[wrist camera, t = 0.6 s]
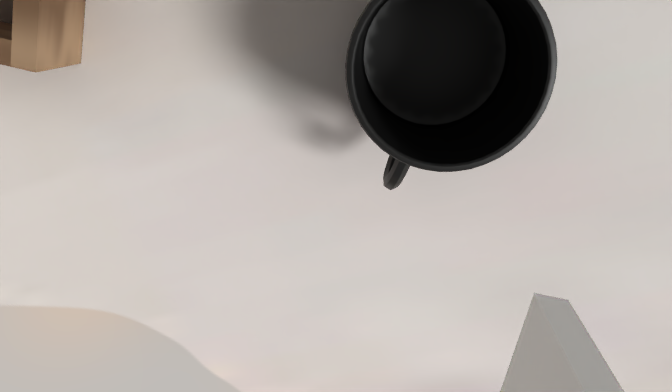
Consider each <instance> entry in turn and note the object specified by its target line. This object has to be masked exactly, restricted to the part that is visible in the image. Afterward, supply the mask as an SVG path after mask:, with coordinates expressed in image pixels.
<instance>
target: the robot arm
mask: <svg viewBox="0 0 672 392" xmlns="http://www.w3.org/2000/svg"><path fill="white" fill-rule="evenodd" d="M500 392H624V391H623V389H622V388H621V386H620V384H619V383H618V381H617V379H616V378H615V376H614V374H613V373H612V371H611V369H610V368H609V366H608V364H607V363H606V361H605V360H604V358H603V356H602V355H601V353H600V351H599V350H598V348H597V346H596V345H595V343H594V341H593V340H592V338H591V337H590V335H589V333H588V332H587V330H586V328H585V327H584V325H583V323H582V322H581V320H580V318H579V317H578V315H577V314H576V312H575V310H574V309H573V307H572V305H571V304H570V302H569V300H565V299H560V298H556V297H551V296H546V295H541V294H536V293H534V295H533V298H532V301H531V304H530V307H529V310H528V313H527V316H526V319H525V321H524V324H523V327H522V330H521V333H520V336H519V339H518V342H517V345H516V348H515V350H514V353H513V356H512V359H511V362H510V365H509V368H508V371H507V374H506V377H505V379H504V382H503V385H502V388H501V391H500Z"/></svg>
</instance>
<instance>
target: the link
mask: <svg viewBox="0 0 672 392" xmlns="http://www.w3.org/2000/svg"><path fill="white" fill-rule="evenodd" d="M85 1H86V0H13V17H12V24H10V23H5V22H1V21H0V64H2V65H6V66H10V67H15V68H19V69H23V70H27V71H32V72H40V71H45V70H50V69H55V68H60V67H65V66H70V65H75V64H80V63H81V53H82V40H83V27H84V14H85Z"/></svg>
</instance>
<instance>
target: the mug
mask: <svg viewBox="0 0 672 392" xmlns="http://www.w3.org/2000/svg"><path fill="white" fill-rule="evenodd" d="M345 68H346V85H347V91H348V96H349V100H350V103H351V106H352V108H353V111H354V113H355V116H356V117H357V119H358V121H359V123H360V125H361V127H362V128H363V129H364V131H365V132H366V133H367V135H368V136H369V137H370V138H371V139H372V140H373V142H375V143H376V144H377V145H378V146H379V147H380V148H381V149H382V150H383V151H385V152H386V153H388V154H389V155H390V156H389V158H388V161H387V164H386V168H385V171H384V176H383V181H384V186H385V187H386V188H388V189H390V190H392V189H394V188H396V187H398V186H399V185H400V183H401V182H402V180H403V179H404V177H405V175H406V173H407V171H408V169H409V167H410V166H413V167H417V168H420V169H424V170H430V171H437V172H453V171H461V170H468V169H472V168H475V167H479V166H482V165H484V164H487V163H489V162H491V161H493V160H496V159H498V158H500V157H501V156H503V155H504V154H506V153H507V152H509V151H510V150H512V149H513V148H514V147H515V146H517V145H518V144H519V143H520V142H521V141H522V140H523V139H524V138H525V137H526V136H527V135H528V134H529V133H530V131H531V130H532V129H533V128H534V127H535V125H536V124H537V122H538V121H539V119H540V118H541V116H542V114H543V113H544V111H545V109H546V107H547V104H548V102H549V99H550V97H551V94H552V91H553V87H554V83H555V79H556V69H557V50H556V42H555V37H554V33H553V29H552V26H551V24H550V21H549V19H548V17H547V14H546V12H545V10H544V9H543V7H542V6H541V4H540V2H539V1H538V0H371V1H370V2H369V4H368V5H367V7H366V8H365V10H364V11H363V13H362V14H361V16H360V18H359V19H358V21H357V24H356V26H355V28H354V30H353V32H352V35H351V39H350V42H349V46H348V50H347V57H346V65H345Z"/></svg>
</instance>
